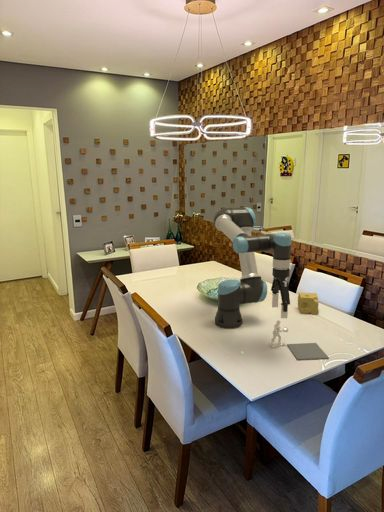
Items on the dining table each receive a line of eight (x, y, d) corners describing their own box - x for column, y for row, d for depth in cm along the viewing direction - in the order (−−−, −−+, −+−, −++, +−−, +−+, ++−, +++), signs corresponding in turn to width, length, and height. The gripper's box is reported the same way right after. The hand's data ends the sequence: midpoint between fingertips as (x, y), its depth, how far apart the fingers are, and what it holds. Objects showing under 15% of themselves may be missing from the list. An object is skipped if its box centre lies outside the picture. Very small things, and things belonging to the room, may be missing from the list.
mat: (297, 360, 152) (297, 359, 152) (286, 345, 166) (286, 344, 166) (328, 358, 153) (329, 357, 153) (315, 344, 167) (315, 342, 167)
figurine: (267, 345, 166) (268, 321, 163) (280, 340, 171) (281, 317, 169) (274, 349, 162) (275, 325, 160) (288, 343, 167) (289, 320, 165)
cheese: (318, 315, 201) (319, 298, 199) (298, 313, 204) (299, 297, 201) (315, 308, 211) (316, 292, 209) (297, 307, 213) (298, 291, 211)
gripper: (299, 274, 147) (296, 322, 151) (280, 261, 171) (279, 302, 175) (281, 275, 146) (279, 323, 151) (265, 261, 170) (264, 303, 175)
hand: (279, 312), depth 163 cm, fingers open, 13 cm apart
